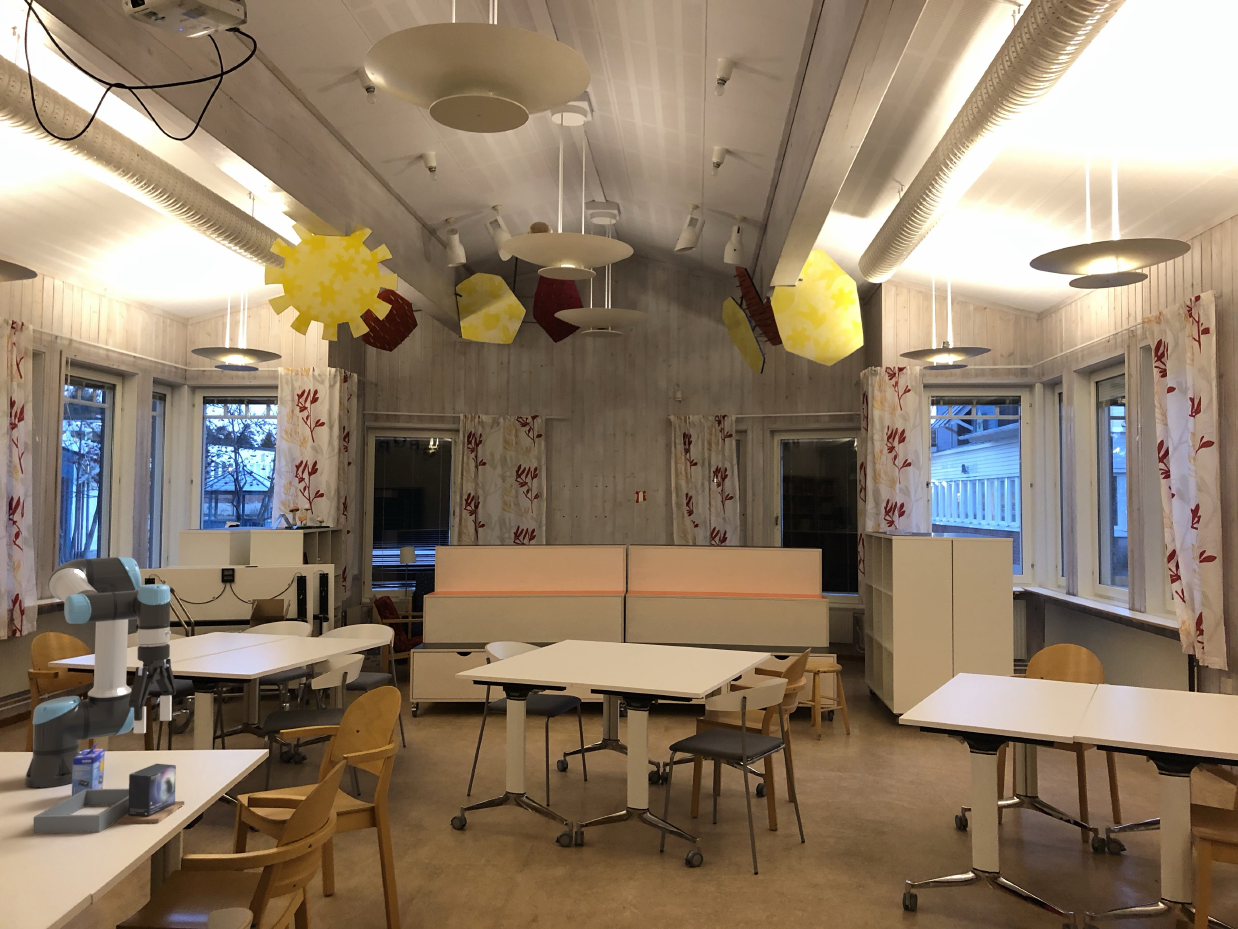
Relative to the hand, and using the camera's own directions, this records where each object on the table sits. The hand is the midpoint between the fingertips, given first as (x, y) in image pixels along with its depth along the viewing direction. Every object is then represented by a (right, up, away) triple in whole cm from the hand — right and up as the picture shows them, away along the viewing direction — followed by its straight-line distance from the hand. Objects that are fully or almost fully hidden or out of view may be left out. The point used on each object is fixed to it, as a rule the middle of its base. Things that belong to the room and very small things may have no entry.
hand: (153, 726), depth 239 cm
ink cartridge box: (-25, -24, +14) cm, 37 cm away
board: (0, -22, -1) cm, 22 cm away
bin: (-14, -22, -3) cm, 27 cm away
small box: (0, -22, -1) cm, 22 cm away
